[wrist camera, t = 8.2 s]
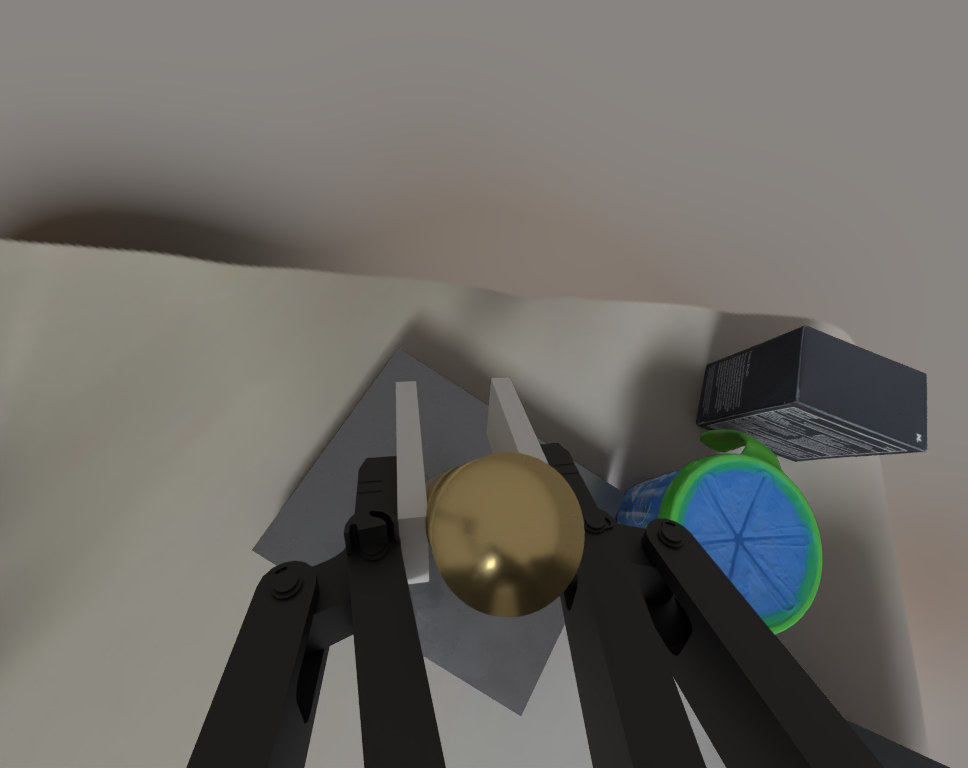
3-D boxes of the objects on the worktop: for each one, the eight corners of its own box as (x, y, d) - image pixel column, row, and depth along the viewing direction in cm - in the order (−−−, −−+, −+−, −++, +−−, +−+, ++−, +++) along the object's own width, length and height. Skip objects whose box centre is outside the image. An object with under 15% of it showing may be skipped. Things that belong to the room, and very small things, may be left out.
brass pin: (405, 516, 19) (399, 562, 8) (440, 459, 20) (484, 423, 9) (461, 551, 19) (538, 649, 8) (494, 493, 20) (609, 503, 9)
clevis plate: (268, 542, 30) (251, 550, 26) (399, 360, 34) (398, 347, 31) (508, 690, 31) (521, 716, 27) (604, 493, 35) (625, 494, 32)
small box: (802, 397, 41) (933, 370, 31) (795, 463, 39) (931, 457, 29) (705, 360, 40) (807, 319, 30) (693, 426, 38) (798, 406, 28)
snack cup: (643, 412, 37) (729, 388, 28) (740, 481, 38) (858, 480, 28) (555, 575, 33) (619, 615, 23) (665, 652, 33) (775, 723, 23)
